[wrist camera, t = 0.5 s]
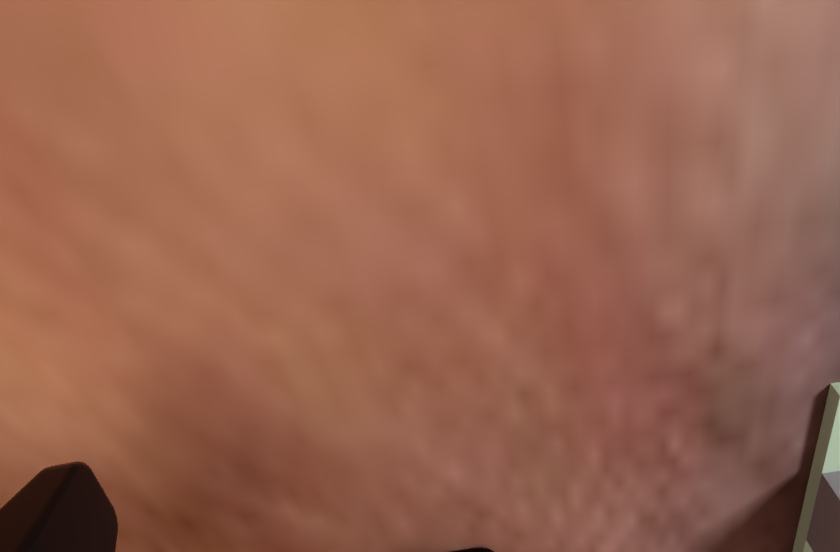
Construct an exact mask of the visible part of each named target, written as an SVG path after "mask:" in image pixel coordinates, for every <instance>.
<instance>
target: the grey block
mask: <svg viewBox="0 0 840 552" xmlns="http://www.w3.org/2000/svg"><path fill="white" fill-rule="evenodd" d="M792 552H840V382H838V383H831V384H830V388H829V392H828V397H827V401H826V405H825V410H824V414H823V419H822V423H821V427H820V432H819V436H818V441H817V445H816V449H815V454H814V458H813V463H812V467H811V472H810V476H809V480H808V485H807V489H806V494H805V498H804V502H803V507H802V511H801V516H800V520H799V524H798V529H797V533H796V538H795V542H794V546H793V551H792Z"/></svg>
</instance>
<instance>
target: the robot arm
mask: <svg viewBox="0 0 840 552" xmlns="http://www.w3.org/2000/svg"><path fill="white" fill-rule="evenodd" d="M117 531H118V523H117V516H116V513H115V510H114V508H113V506H112V504H111V502H110V501H109V499H108V497H107V496H106V494H105V492H104V490H103V489H102V487H101V485H100V483H99V482H98V480H97V478H96V477H95V475H94V473H93V471H92V470H91V469H90V467H89V466H88V465H87V464H85V463H83V462H71V463H66V464H60V465H55V466H50V467H47V468H45V469H43V470H42V471H41V472H39V473H38V474H37V475H36V476H35V477H34V478H33V479H32V480H31V481H30V482H29V483H28V484H27V485H25V486H24V487H23V488H22V489H21V490H20V491H19V492H18V493H17V494H16V495H15V496H14V497H13V498H12V499H11V500H9V501H8V502H7V503H6V504H5V505H4V506H3V507H2V508H1V509H0V552H115V549H116V541H117ZM464 552H494V551H492V550H490V549H477V550H470V551H464Z"/></svg>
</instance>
